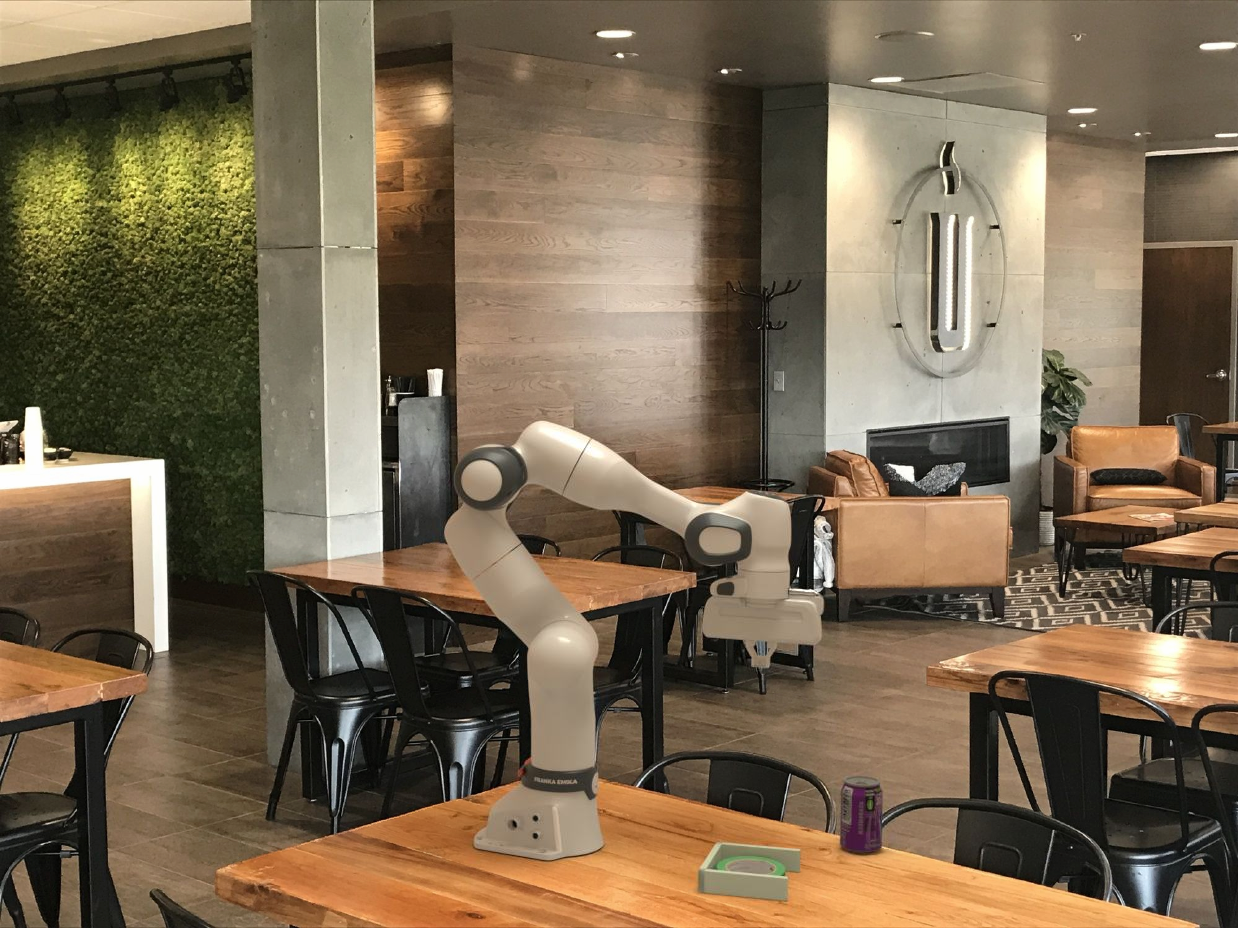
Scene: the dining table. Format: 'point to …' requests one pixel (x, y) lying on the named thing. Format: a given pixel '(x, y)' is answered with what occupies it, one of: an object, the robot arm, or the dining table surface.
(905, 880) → the dining table surface
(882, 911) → the dining table surface
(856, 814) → the beverage can
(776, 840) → the dining table surface
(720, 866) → the tape roll
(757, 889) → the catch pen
